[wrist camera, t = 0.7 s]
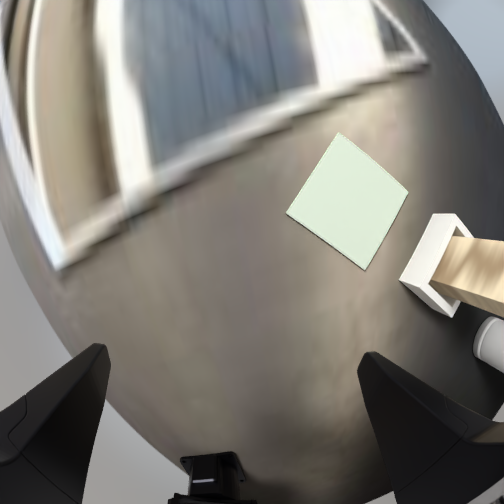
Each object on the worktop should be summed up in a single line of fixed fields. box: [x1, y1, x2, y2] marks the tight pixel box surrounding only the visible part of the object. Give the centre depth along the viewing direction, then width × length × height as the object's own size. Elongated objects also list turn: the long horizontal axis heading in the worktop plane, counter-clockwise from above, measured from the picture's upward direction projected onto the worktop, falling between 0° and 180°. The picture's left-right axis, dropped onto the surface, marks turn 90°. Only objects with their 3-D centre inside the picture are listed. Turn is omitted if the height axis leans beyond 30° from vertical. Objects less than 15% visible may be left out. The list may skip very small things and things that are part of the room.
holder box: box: [399, 214, 474, 318], centre depth 24 cm, size 8×7×4 cm
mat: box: [286, 132, 408, 270], centre depth 24 cm, size 9×9×1 cm
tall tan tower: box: [428, 236, 504, 317], centre depth 19 cm, size 5×4×12 cm
